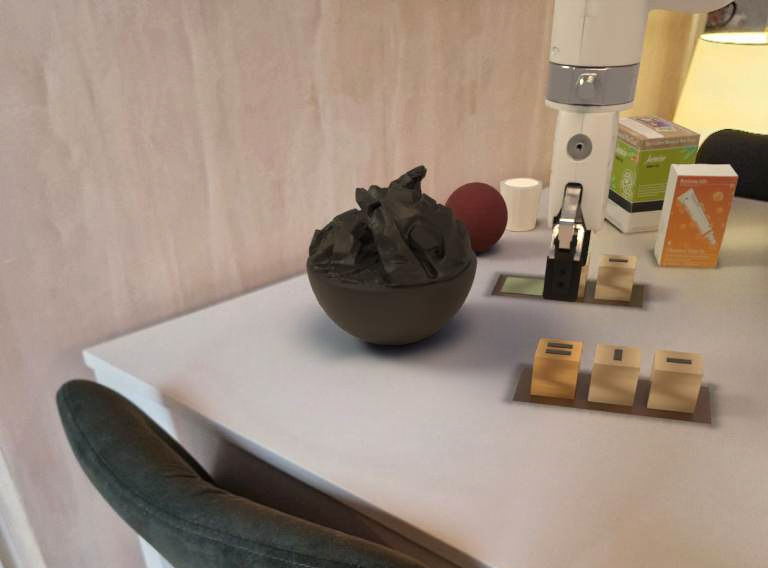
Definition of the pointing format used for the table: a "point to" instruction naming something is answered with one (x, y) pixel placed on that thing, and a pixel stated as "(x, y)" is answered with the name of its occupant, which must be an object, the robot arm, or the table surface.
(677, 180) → the small box
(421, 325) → the coal bowl
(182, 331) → the table surface
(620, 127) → the tea box
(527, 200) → the shot glass
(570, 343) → the orange wooden cube
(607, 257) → the board
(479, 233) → the decorative ball
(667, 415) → the front word board
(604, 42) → the robot arm
